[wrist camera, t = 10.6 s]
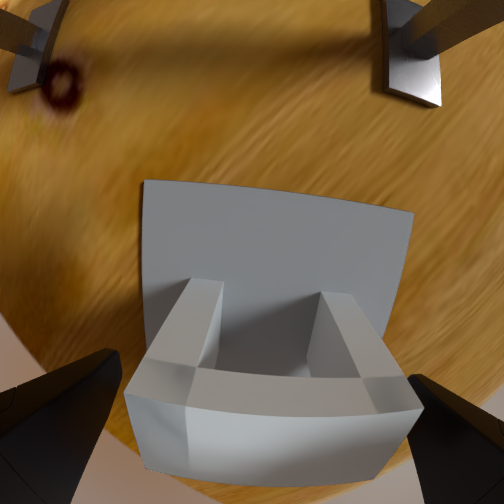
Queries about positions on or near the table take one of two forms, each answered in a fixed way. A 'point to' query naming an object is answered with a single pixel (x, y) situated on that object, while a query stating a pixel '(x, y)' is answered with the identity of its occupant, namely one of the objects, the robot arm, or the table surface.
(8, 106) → the table surface
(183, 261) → the mat
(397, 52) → the stand
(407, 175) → the table surface
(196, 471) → the c link
